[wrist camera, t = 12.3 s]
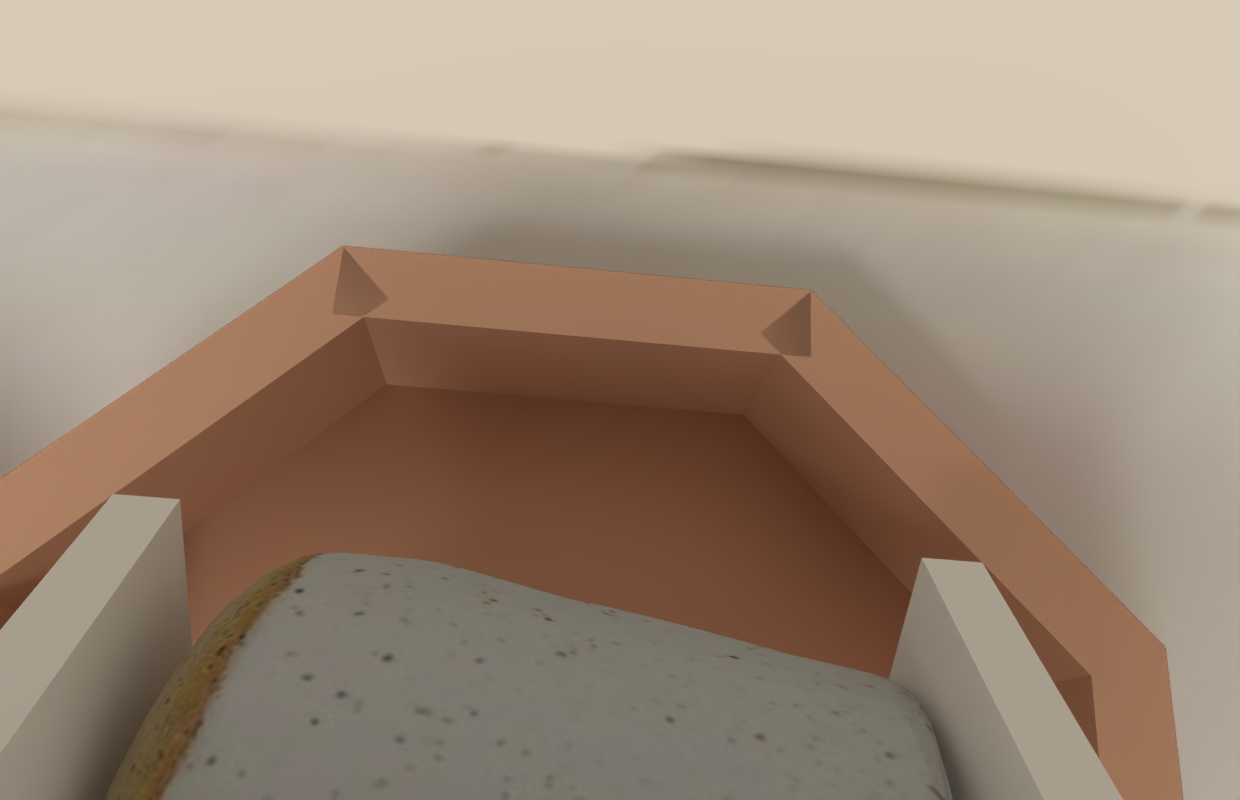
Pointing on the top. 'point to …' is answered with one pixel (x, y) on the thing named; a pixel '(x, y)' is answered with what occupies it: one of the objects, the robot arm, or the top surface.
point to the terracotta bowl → (590, 469)
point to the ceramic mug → (506, 702)
